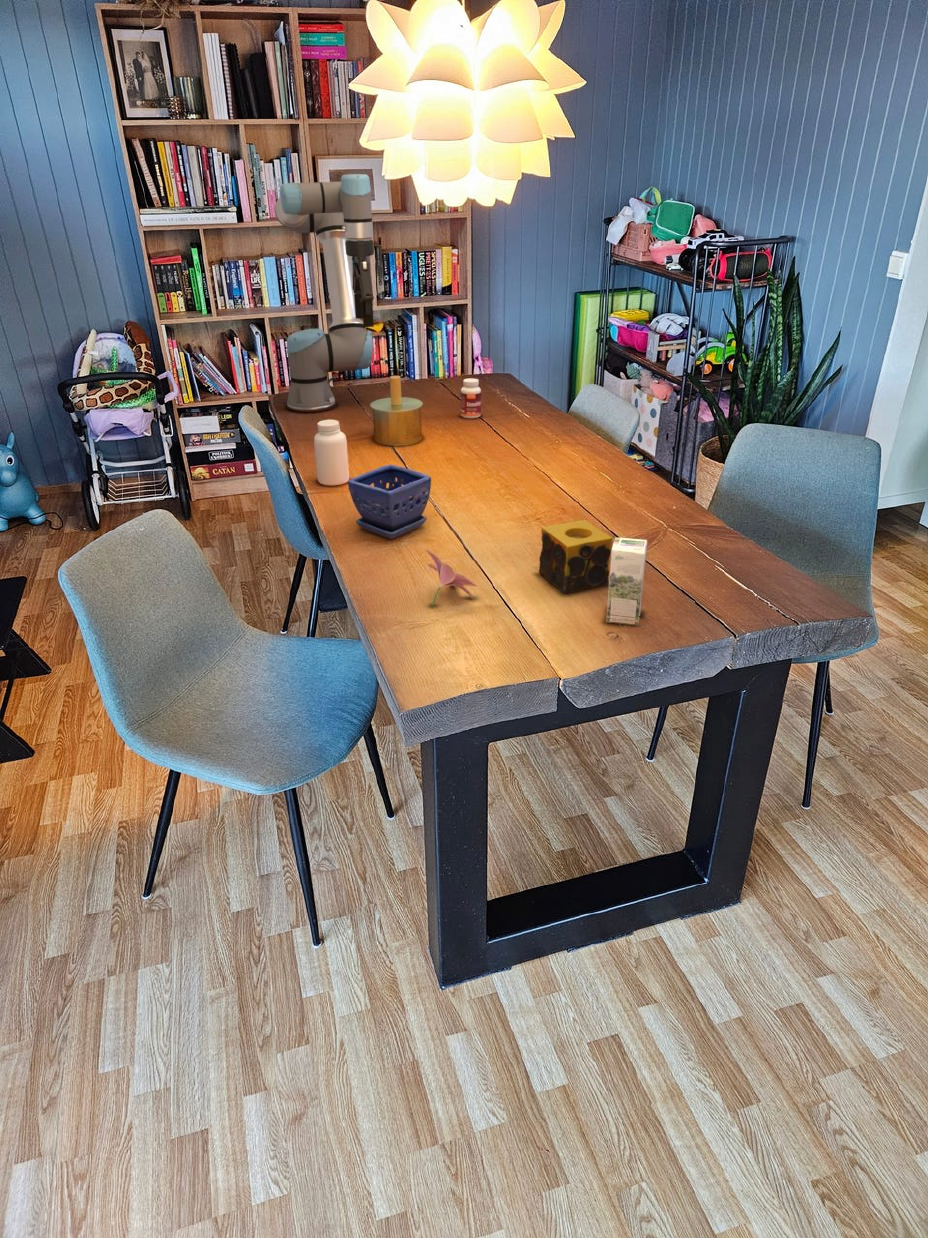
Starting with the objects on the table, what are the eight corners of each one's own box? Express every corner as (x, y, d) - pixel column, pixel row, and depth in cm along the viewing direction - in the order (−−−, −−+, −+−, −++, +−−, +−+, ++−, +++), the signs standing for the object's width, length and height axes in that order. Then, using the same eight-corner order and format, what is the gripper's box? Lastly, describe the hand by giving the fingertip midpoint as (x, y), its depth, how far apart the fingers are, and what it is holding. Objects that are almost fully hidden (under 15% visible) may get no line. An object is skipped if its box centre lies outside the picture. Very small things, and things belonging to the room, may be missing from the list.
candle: (537, 573, 173) (539, 526, 168) (582, 564, 177) (584, 518, 172) (563, 595, 165) (565, 546, 160) (609, 585, 168) (613, 537, 164)
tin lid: (366, 403, 252) (364, 372, 247) (416, 399, 255) (415, 369, 251) (375, 417, 239) (373, 385, 235) (428, 412, 242) (426, 381, 238)
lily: (477, 620, 159) (493, 569, 158) (417, 603, 155) (432, 551, 154) (458, 610, 170) (472, 562, 170) (401, 594, 166) (416, 545, 166)
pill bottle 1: (315, 486, 218) (309, 427, 211) (320, 475, 225) (315, 417, 218) (347, 486, 218) (342, 427, 210) (351, 475, 225) (347, 417, 217)
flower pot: (392, 545, 186) (389, 492, 180) (349, 530, 193) (345, 478, 188) (434, 526, 195) (433, 475, 189) (392, 512, 202) (389, 462, 196)
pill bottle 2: (466, 419, 267) (466, 383, 262) (457, 415, 272) (456, 379, 266) (484, 417, 269) (484, 380, 264) (475, 412, 274) (474, 376, 269)
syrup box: (641, 611, 159) (648, 538, 152) (638, 627, 154) (645, 551, 147) (609, 608, 160) (614, 535, 153) (605, 623, 155) (611, 548, 148)
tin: (370, 434, 256) (368, 401, 251) (416, 429, 259) (415, 397, 254) (378, 448, 244) (376, 414, 239) (427, 443, 247) (425, 410, 243)
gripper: (338, 235, 243) (344, 315, 253) (352, 244, 222) (358, 331, 232) (365, 234, 245) (370, 313, 255) (381, 243, 224) (386, 329, 234)
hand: (364, 322), depth 244 cm, fingers open, 13 cm apart
